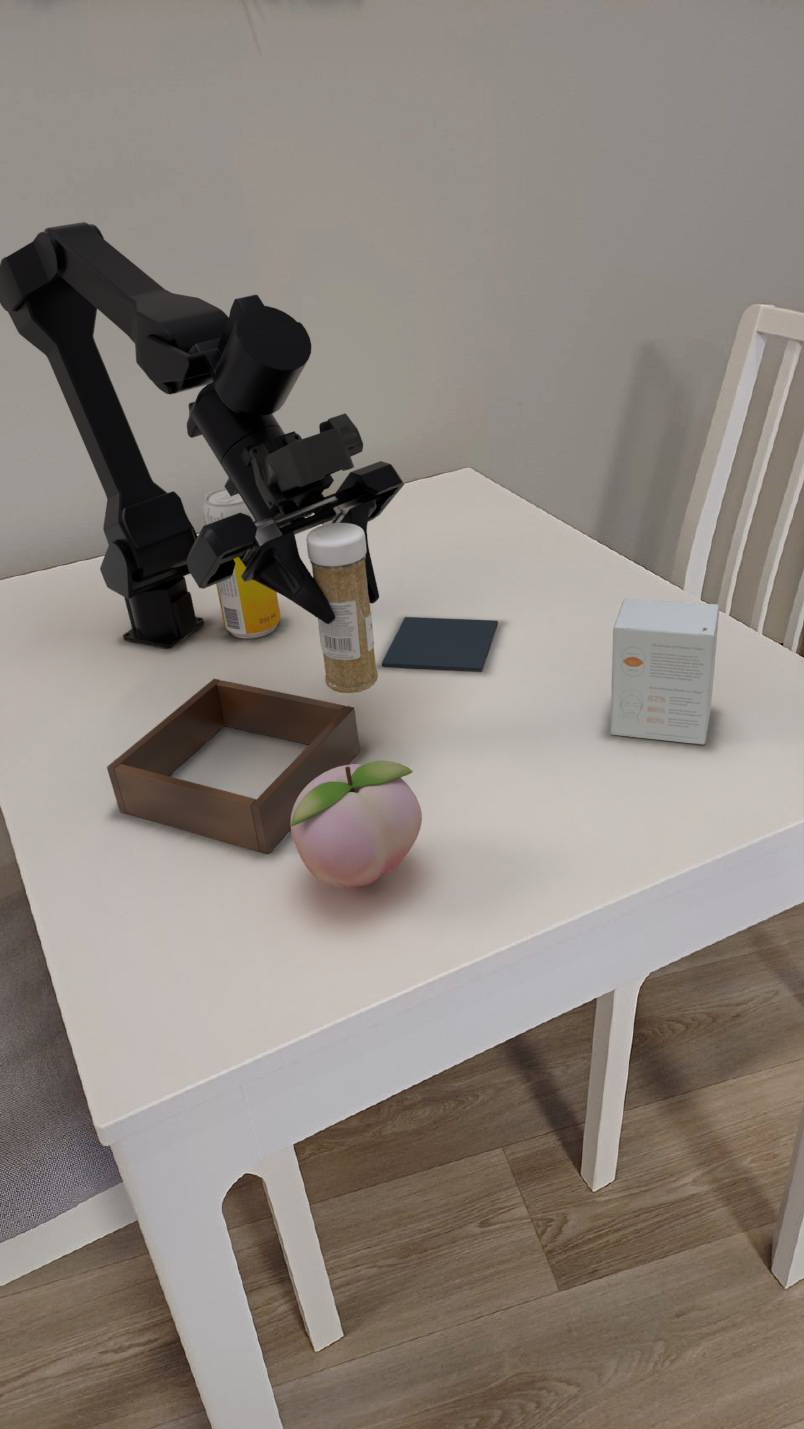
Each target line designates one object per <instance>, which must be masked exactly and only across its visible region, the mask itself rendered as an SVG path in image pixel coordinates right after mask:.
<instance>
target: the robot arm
mask: <svg viewBox="0 0 804 1429" xmlns="http://www.w3.org/2000/svg"><path fill="white" fill-rule="evenodd" d="M0 260H1V261H0V306H1V307H2V309H4V311H5V312H7V313H8V315H9V317H10V319H11V321H12V323H13V325H14V327H15V329H16V331H17V332H18V334H19V335H20V336H21V337H22V338H23V339H25V340H26V341H27V342H29V343H30V344H31V345H32V346H34V347H35V348H36V349H37V350H39V352H41V353H42V354H43V355H45V357H46V359H47V360H48V362H49V365H50V368H51V369H52V372H53V374H54V377H55V378H56V381H57V384H58V385H59V388H60V390H61V393H62V395H63V398H64V400H65V402H66V404H67V407H68V409H69V411H70V412H69V413H70V414H71V416H72V419H73V422H74V423H75V426H76V428H77V430H78V432H79V436H80V438H81V439H82V442H83V444H84V446H85V449H86V452H87V453H88V456H89V459H90V461H91V462H92V463H91V464H92V465H93V468H94V470H95V472H96V475H97V477H98V480H99V482H100V485H101V487H102V489H103V491H104V494H105V497H106V500H107V501H106V506H105V512H104V513H105V514H104V519H103V526H102V527H103V533H104V536H105V539H106V542H107V544H108V546H107V549H106V551H105V554H104V557H103V559H102V562H101V563H100V564H101V565H100V567H99V571H100V573H101V576H102V579H103V581H104V583H105V586H106V587H107V589H109V590H111V591H113V592H115V593H116V594H118V595H120V596H122V597H123V598H124V602H125V606H126V610H127V615H128V619H129V622H130V626H131V629H129V630H128V631H127V632H124V634H122V639H123V640H124V641H128V642H132V643H138V644H142V645H148V646H152V647H158V648H162V649H163V648H164V649H171V648H173V647H174V646H175V645H177V644H178V643H180V642H181V641H182V640H185V638H186V637H187V636H189V635H191V634H192V633H193V632H194V631H196V630H197V629H199V628H200V627H201V626H202V625H204V624H205V618H203V617H200V616H196V613H195V607H194V602H193V599H192V593H191V592H190V591H189V590H188V585H187V581H186V576H187V575H188V576H189V575H190V576H191V577H192V579H193V580H194V582H195V583H196V585H197V587H198V588H199V589H203V590H204V589H206V588H209V587H211V586H213V585H216V583H219V582H221V581H224V580H226V579H229V578H231V576H232V575H233V571H234V568H235V564H236V563H235V561H234V559H235V558H237V557H239V558H240V560H241V561H242V563H243V564H244V566H245V567H246V569H245V571H244V572H243V574H242V576H241V578H242V579H243V580H244V581H245V582H248V581H250V580H255V581H257V582H259V583H260V584H262V585H264V586H266V587H268V588H270V589H272V590H274V591H276V592H277V594H279V595H281V596H283V597H284V598H286V599H288V600H289V601H291V602H293V603H294V604H295V605H297V606H299V607H300V608H302V609H303V610H304V611H306V612H308V613H309V614H311V615H313V617H315V618H317V620H318V619H320V620H321V621H323V622H325V623H326V624H330V623H332V622H333V621H334V620H335V614H334V612H333V610H332V608H331V606H330V604H329V602H328V601H327V599H326V597H325V596H324V594H323V593H322V591H321V589H320V588H319V586H318V585H317V583H316V582H315V580H314V579H313V574H311V572H310V571H309V569H308V567H307V566H306V564H305V563H304V562H303V560H302V558H301V556H300V552H299V547H298V544H297V539H296V535H298V534H300V533H303V532H305V531H309V530H310V529H314V528H316V527H319V526H323V525H326V524H332V523H349V524H354V525H357V526H359V527H361V528H362V529H363V531H364V533H365V540H366V550H367V551H366V554H365V555H366V559H365V568H366V577H367V589H368V596H369V601H370V605H372V604H375V603H376V602H377V601H378V600H379V599H380V593H379V592H380V591H379V588H378V584H377V580H376V575H375V570H374V567H373V561H372V557H371V553H370V548H369V539H368V538H369V537H368V525H369V524H368V523H369V522H371V521H373V520H374V519H376V518H377V517H379V516H380V515H381V514H382V513H383V511H385V509H386V508H387V506H389V504H390V503H391V502H392V500H394V498H395V497H396V496H397V494H399V492H400V491H401V490H402V489H403V487H404V485H405V482H404V481H403V479H402V478H401V475H400V474H399V473H398V471H397V470H396V468H395V467H394V466H393V464H392V463H388V462H386V461H382V460H380V461H377V462H374V463H372V464H368V465H366V466H364V467H361V468H358V469H355V470H352V471H350V470H351V469H354V468H355V465H354V462H353V460H352V457H353V456H355V455H358V454H360V453H363V449H364V442H363V439H362V436H361V434H360V431H359V429H358V427H357V426H356V424H354V422H353V421H352V420H351V418H350V417H349V416H348V414H347V413H346V412H345V413H342V414H339V415H336V416H333V417H329V418H327V420H325V421H322V422H320V423H319V425H318V428H319V429H318V430H319V433H317V434H314V435H309V436H307V437H304V438H302V436H301V435H300V434H299V433H297V432H296V431H295V430H294V431H291V432H287V433H286V432H284V430H283V428H282V427H281V425H280V423H279V422H278V421H277V419H276V417H275V416H274V414H275V413H276V412H278V411H280V410H281V408H282V407H283V406H284V405H285V403H286V401H287V399H288V397H289V396H290V394H291V393H292V390H293V389H294V386H296V384H297V381H298V379H299V378H300V376H301V374H302V372H303V370H304V369H305V367H306V365H307V363H308V361H309V360H310V357H311V354H312V341H311V337H310V335H309V333H308V331H307V329H306V327H305V325H303V323H302V322H300V321H297V320H296V319H295V318H294V317H292V316H291V315H290V314H288V313H287V312H285V311H283V310H282V309H281V310H280V309H279V308H277V307H273V306H270V305H269V306H268V305H265V304H264V302H263V301H262V299H261V298H260V296H259V295H258V294H252V295H247V296H242V297H238V298H235V299H234V300H233V302H232V305H231V307H230V310H229V314H226V312H224V311H223V310H222V309H221V308H220V307H218V306H215V305H213V304H212V303H210V302H208V301H205V299H202V298H199V297H197V296H190V295H186V294H185V295H184V294H180V293H173V292H171V291H169V290H168V289H166V288H164V287H163V286H162V285H161V284H159V282H157V281H156V280H155V279H153V278H152V277H151V276H150V275H149V274H147V273H146V272H145V271H144V270H142V269H141V268H140V267H139V266H137V265H136V264H135V263H134V262H133V261H131V260H130V259H128V257H126V256H125V255H124V254H123V253H122V252H121V251H119V250H118V249H117V248H115V247H114V246H113V245H111V243H109V242H108V241H107V240H105V238H104V235H103V234H102V231H101V230H100V229H99V227H98V226H97V225H95V224H93V223H88V222H86V221H81V222H75V223H69V224H63V225H56V226H51V227H46V228H44V230H43V231H41V232H38V233H37V234H36V236H35V237H34V239H33V241H31V242H29V243H28V244H26V245H24V246H23V247H20V248H19V249H18V250H15V251H14V252H12V253H10V254H9V255H7V256H4V257H3V258H1V259H0ZM98 311H99V312H100V313H101V314H103V316H105V317H106V318H107V319H108V320H109V321H110V322H111V323H112V324H114V325H115V326H116V327H118V329H120V330H121V331H122V332H123V333H124V334H125V335H127V337H128V338H129V339H130V340H131V341H132V343H133V344H134V349H135V350H134V352H135V362H136V365H137V366H139V368H140V369H141V370H142V371H143V372H144V374H145V376H147V378H148V379H149V380H150V381H151V382H152V383H153V384H154V386H155V387H156V388H158V390H160V391H161V392H162V393H164V394H166V395H169V396H170V395H171V396H172V395H174V394H175V395H176V394H178V393H183V392H186V391H190V390H193V389H197V388H200V387H201V388H202V387H203V388H202V389H201V390H199V392H198V394H197V396H196V398H195V401H191V402H189V403H188V419H187V421H186V434H187V436H188V437H189V438H191V439H193V438H196V437H201V436H202V437H203V439H204V440H205V442H206V444H207V445H208V447H210V450H211V451H212V453H213V455H214V456H215V458H216V460H217V461H218V463H219V464H220V466H221V467H222V469H223V471H224V472H225V474H226V475H227V477H228V478H227V481H226V482H225V484H224V486H223V487H225V488H226V490H227V492H228V493H229V495H230V496H234V495H236V494H239V495H240V496H241V498H242V500H243V501H244V503H245V504H246V506H247V508H248V509H249V511H250V513H251V514H252V516H253V517H254V519H255V521H254V522H253V520H252V518H251V517H250V516H248V515H246V514H243V513H241V512H240V513H237V514H235V515H232V516H229V517H226V518H224V519H221V520H218V521H216V522H213V523H210V524H207V525H205V524H204V525H203V526H202V528H201V529H200V532H199V533H198V534H197V531H196V529H195V527H194V525H193V524H192V523H191V521H190V519H189V517H188V515H187V513H186V510H185V506H184V503H183V501H182V498H181V497H180V496H179V494H178V493H176V491H173V490H172V491H169V492H167V491H166V490H164V488H162V487H161V486H160V485H159V484H157V483H156V482H155V481H154V480H153V478H152V476H151V474H150V471H149V469H148V466H147V464H146V462H145V459H144V457H143V455H142V452H141V450H140V449H141V448H140V447H139V445H138V443H137V440H136V437H135V435H134V433H133V430H132V428H131V426H130V422H129V420H128V418H127V415H126V413H125V411H124V409H123V405H122V404H121V401H120V399H119V396H118V394H117V391H116V389H115V387H114V384H113V381H112V380H111V377H110V374H109V372H108V369H107V367H106V365H105V361H104V360H103V358H102V356H101V353H100V350H99V348H98V345H97V343H96V340H95V337H94V334H95V327H96V320H97V314H98ZM339 471H343V472H345V471H350V472H349V473H348V474H347V476H346V477H345V479H344V480H343V482H342V483H341V484H340V486H339V487H338V488H337V490H336V491H335V492H334V493H330V494H329V495H326V496H324V494H323V493H324V491H325V490H329V489H330V487H331V486H332V484H333V483H334V481H335V480H334V478H333V476H332V475H333V474H335V473H337V472H339Z"/></svg>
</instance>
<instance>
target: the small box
mask: <svg viewBox="0 0 804 1429" xmlns="http://www.w3.org/2000/svg"><path fill="white" fill-rule="evenodd" d="M719 617H720V604H717V603H701V602H688V601H687V602H686V601H685V602H684V601H671V600H655V599H639V598H629V597H628V598H627V597H626V598H624V599H623V600H622V602H621V606H620V608H619V611H618V614H617V616H616V619H615V622H614V625H613V628H612V654H611V656H612V657H611V658H612V659H611V660H612V661H611V689H610V690H611V692H610V693H611V694H610V728H609V732H610V734H611V735H614V736H622V737H631V738H638V739H639V738H640V739H647V740H648V739H649V740H658V741H667V742H668V741H669V742H677V743H685V744H693V745H705V744H706V742H707V736H708V729H709V724H710V716H711V708H712V700H713V699H712V698H713V691H714V690H713V688H714V677H715V667H716V656H717V644H718V642H717V641H718V630H719Z"/></svg>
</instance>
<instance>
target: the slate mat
mask: <svg viewBox="0 0 804 1429" xmlns="http://www.w3.org/2000/svg"><path fill="white" fill-rule="evenodd" d="M498 622H499V620H494V619H493V620H492V619H470V618H469V619H466V618H443V617H441V618H440V617H419V616H418V617H416V616H414V617H413V616H404V618H403V619H402V622H401V624H400V625H399V627H398V629H397V631H396V634H395V636H394V638H393V640H392V642H391V643H390V646H389V648H388V650H387V652H386V654H385V656H384V657H383V660H382V662H381V667H384V668H385V667H387V668H402V669H403V668H405V669H406V668H408V669H424V670H425V669H427V670H442V671H443V670H445V671H462V672H463V671H464V672H479V673H480V672H483V669H484V666H485V664H486V660H487V657H488V654H489V651H490V648H491V645H492V642H493V640H494V637H495V633H496V630H497V627H498V624H499V623H498Z"/></svg>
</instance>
